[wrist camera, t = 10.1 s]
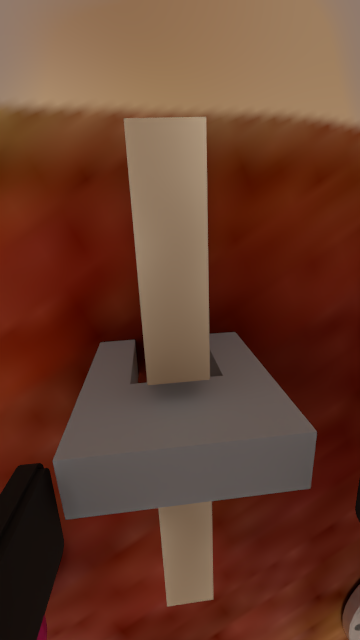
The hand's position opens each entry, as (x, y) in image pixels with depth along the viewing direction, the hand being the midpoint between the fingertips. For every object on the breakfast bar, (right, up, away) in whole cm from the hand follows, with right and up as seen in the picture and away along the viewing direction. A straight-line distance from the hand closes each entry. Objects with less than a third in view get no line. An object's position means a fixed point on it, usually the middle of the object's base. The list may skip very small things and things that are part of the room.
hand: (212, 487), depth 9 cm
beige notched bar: (-1, +3, +7) cm, 8 cm away
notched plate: (-1, +3, +7) cm, 8 cm away
